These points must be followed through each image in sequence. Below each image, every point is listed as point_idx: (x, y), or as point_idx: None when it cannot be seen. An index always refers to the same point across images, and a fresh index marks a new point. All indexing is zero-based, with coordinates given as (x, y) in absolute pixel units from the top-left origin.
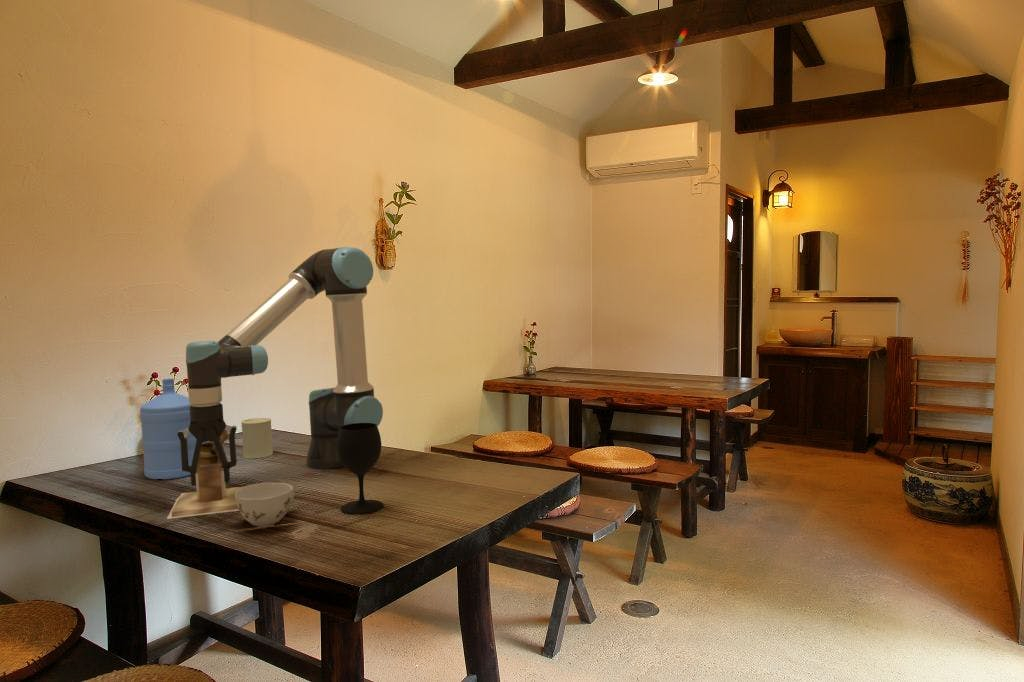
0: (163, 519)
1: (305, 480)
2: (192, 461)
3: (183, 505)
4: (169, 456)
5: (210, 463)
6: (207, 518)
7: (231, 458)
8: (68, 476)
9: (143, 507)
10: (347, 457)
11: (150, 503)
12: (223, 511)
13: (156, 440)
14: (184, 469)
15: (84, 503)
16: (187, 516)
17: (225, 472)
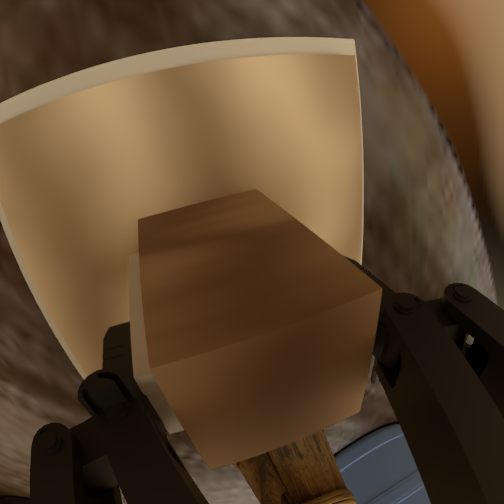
0: (365, 76)
1: (5, 453)
2: (463, 360)
3: (327, 150)
4: (393, 470)
5: (300, 483)
6: (164, 21)
7: (66, 499)
8: None
9: (429, 247)
10: None
11: (415, 284)
12: (89, 79)
13: None
14: (462, 289)
15: (493, 287)
16: (272, 37)
17: (129, 378)
